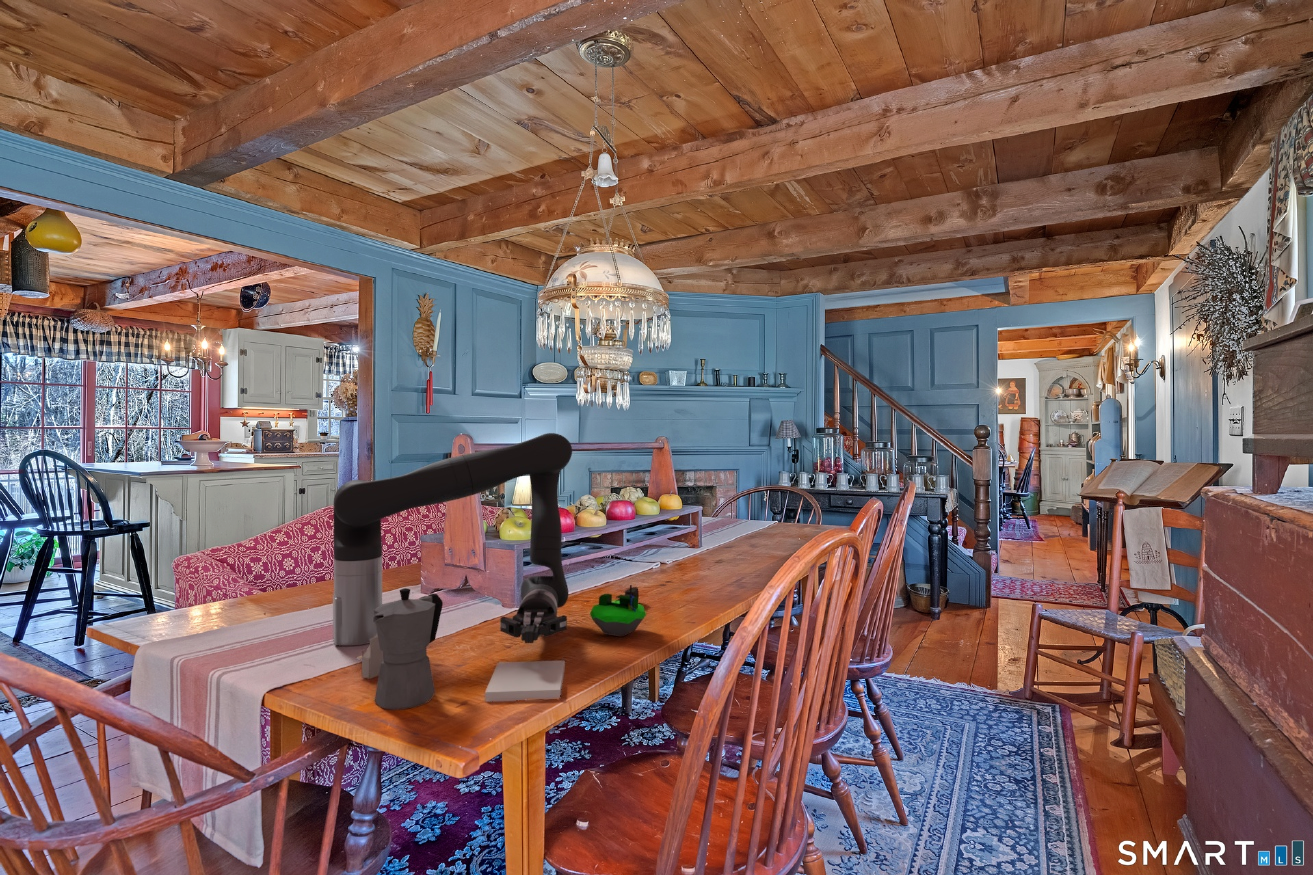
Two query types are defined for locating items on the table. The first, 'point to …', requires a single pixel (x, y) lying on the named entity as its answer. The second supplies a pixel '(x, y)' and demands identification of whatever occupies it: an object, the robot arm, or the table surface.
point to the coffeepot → (406, 650)
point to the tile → (526, 681)
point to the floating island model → (618, 614)
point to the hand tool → (634, 592)
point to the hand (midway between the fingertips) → (528, 637)
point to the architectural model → (371, 659)
